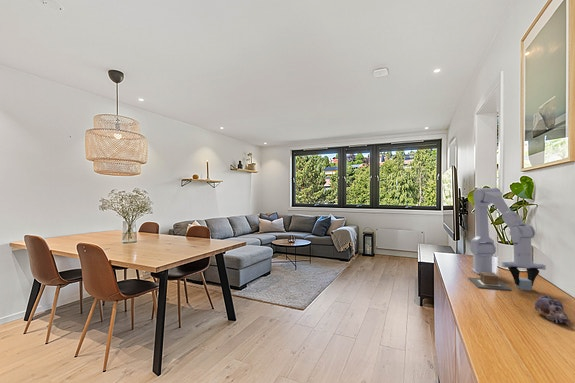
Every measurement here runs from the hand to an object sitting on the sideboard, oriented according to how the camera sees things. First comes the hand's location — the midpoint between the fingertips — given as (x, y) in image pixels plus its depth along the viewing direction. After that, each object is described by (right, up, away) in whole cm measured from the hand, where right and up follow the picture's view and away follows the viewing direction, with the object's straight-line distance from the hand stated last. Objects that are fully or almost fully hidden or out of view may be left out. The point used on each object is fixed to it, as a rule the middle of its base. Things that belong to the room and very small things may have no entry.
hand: (523, 285), depth 115 cm
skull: (-15, -2, -27) cm, 31 cm away
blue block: (0, -2, 0) cm, 2 cm away
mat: (-11, -2, +6) cm, 12 cm away
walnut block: (-11, -1, +6) cm, 12 cm away
